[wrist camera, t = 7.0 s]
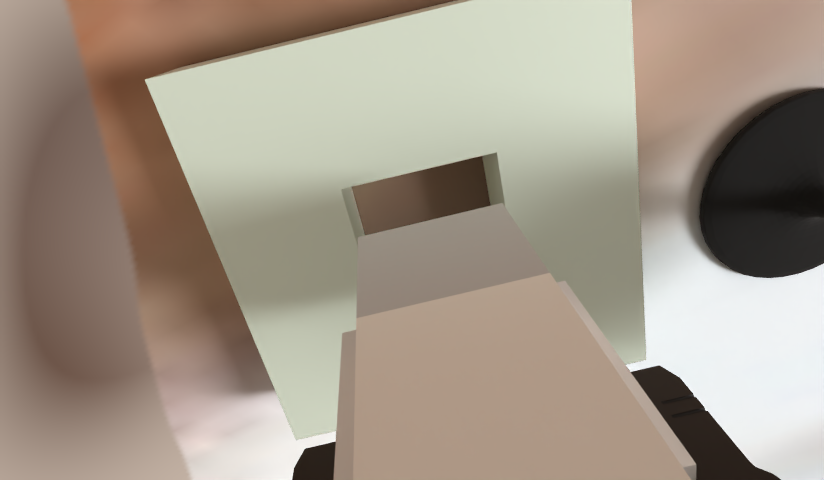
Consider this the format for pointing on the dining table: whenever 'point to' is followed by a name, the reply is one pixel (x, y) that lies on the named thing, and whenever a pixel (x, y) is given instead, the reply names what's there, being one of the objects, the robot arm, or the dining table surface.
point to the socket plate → (411, 162)
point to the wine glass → (770, 192)
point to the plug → (485, 365)
